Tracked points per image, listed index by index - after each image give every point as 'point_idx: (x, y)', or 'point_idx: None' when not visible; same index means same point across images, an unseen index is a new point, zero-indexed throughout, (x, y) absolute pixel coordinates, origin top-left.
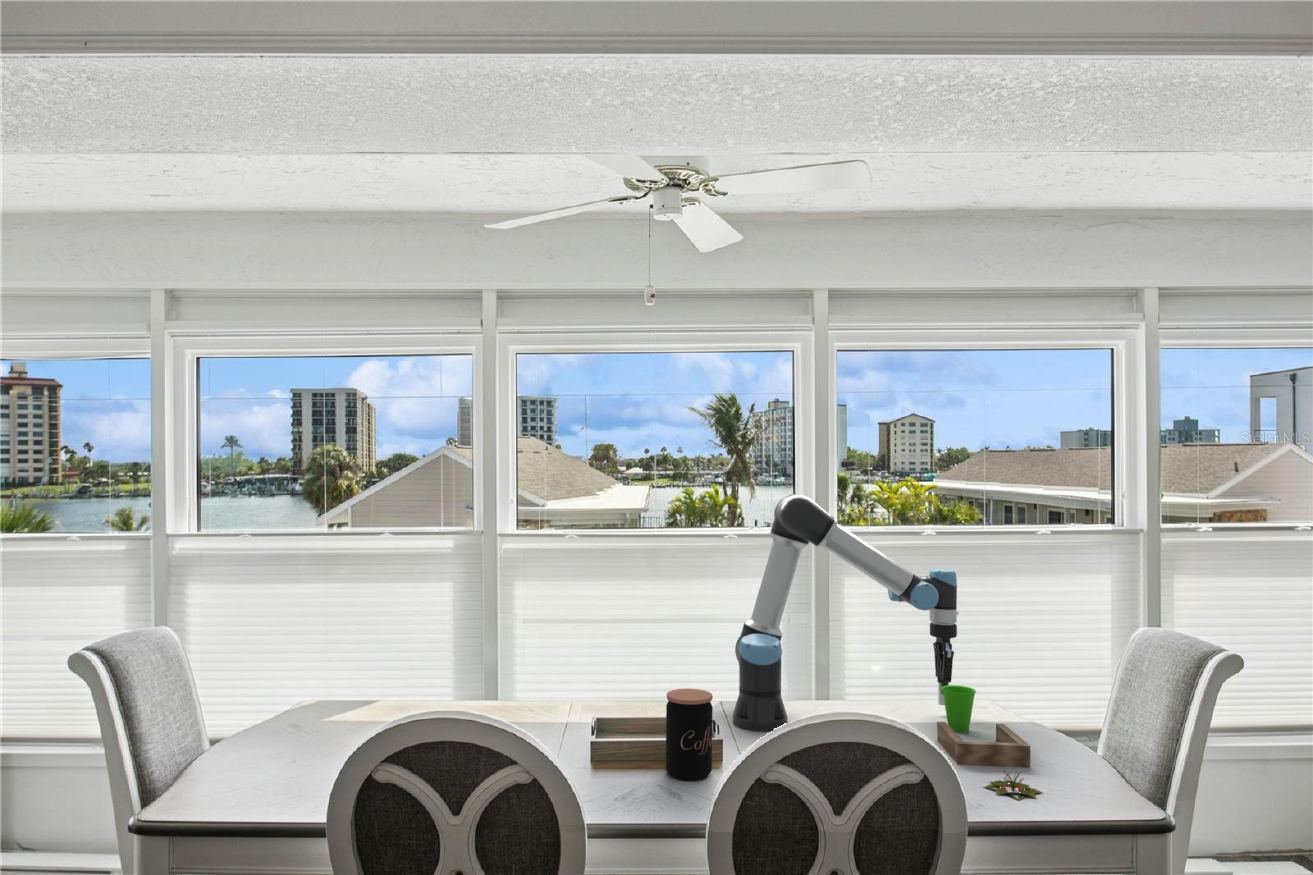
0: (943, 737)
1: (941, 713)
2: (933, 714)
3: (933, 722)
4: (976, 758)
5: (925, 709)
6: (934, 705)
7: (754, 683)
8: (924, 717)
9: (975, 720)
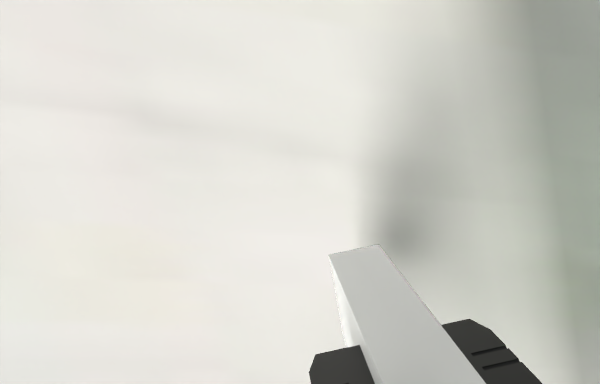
0: None
1: (307, 265)
2: None
3: (559, 324)
4: None
5: (226, 372)
6: (66, 309)
7: None
8: None
9: (451, 6)
